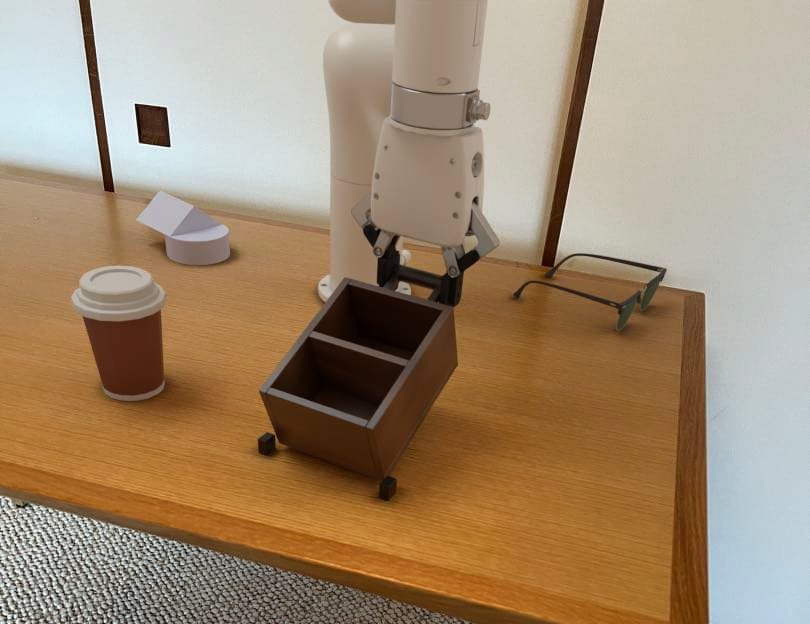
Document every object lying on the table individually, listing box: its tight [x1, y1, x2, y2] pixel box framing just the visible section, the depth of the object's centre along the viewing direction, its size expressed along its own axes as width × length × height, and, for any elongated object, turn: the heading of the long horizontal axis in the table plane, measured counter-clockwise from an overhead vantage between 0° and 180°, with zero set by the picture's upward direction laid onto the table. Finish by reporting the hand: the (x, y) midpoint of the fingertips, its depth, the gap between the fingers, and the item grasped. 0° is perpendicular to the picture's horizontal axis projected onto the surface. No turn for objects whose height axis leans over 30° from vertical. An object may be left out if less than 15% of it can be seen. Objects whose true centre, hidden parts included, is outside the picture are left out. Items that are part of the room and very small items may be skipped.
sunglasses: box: [512, 252, 668, 331], centre depth 112 cm, size 16×17×5 cm
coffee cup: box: [70, 265, 167, 402], centre depth 84 cm, size 9×9×12 cm
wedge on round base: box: [135, 190, 231, 266], centre depth 117 cm, size 9×7×13 cm
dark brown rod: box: [257, 431, 398, 502], centre depth 78 cm, size 2×15×2 cm, turn 62°
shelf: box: [258, 264, 459, 482], centre depth 80 cm, size 21×12×8 cm, turn 152°
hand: (417, 299), depth 83 cm, fingers closed on shelf, 6 cm apart
